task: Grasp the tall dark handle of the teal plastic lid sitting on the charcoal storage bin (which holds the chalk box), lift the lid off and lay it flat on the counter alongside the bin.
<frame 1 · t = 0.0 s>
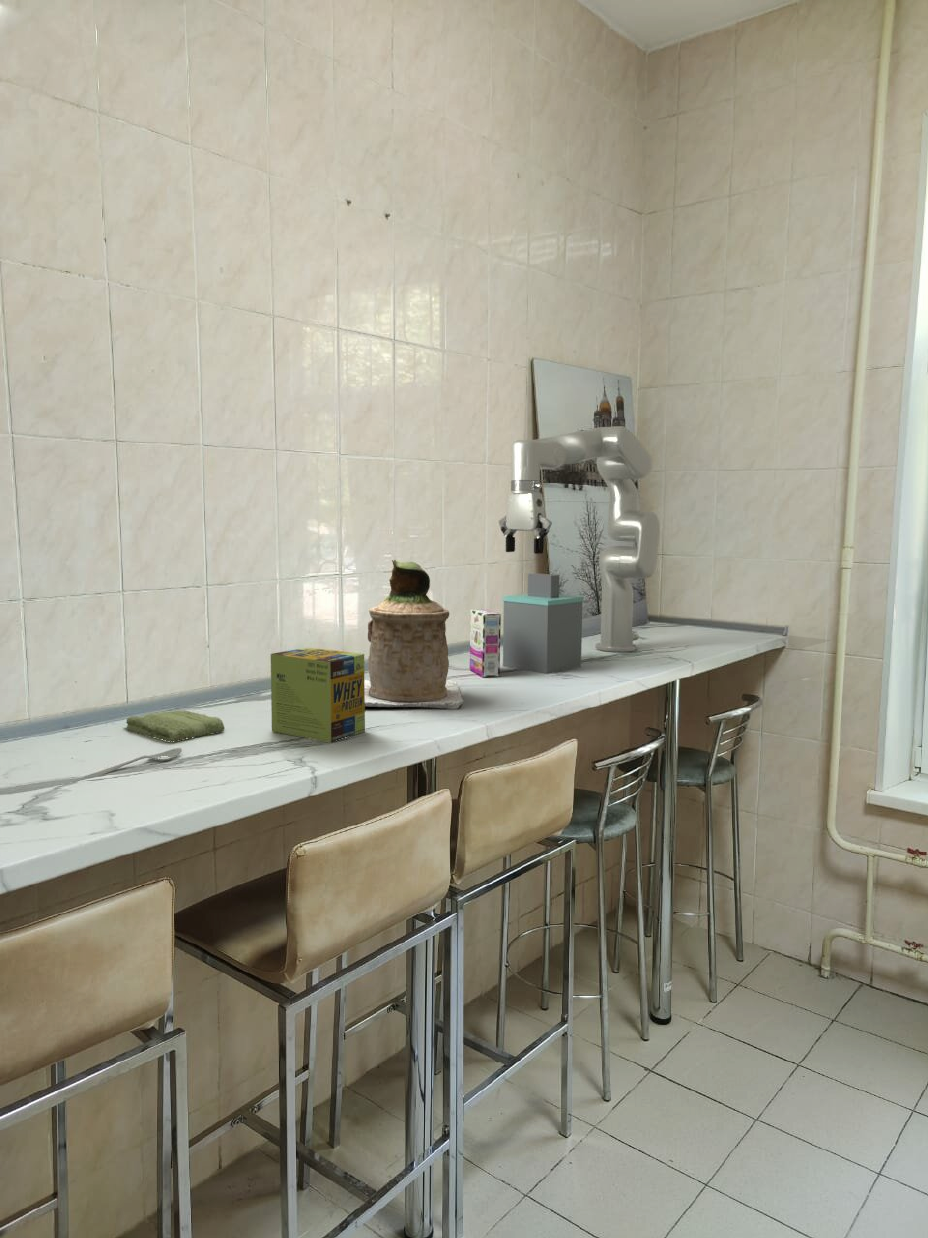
hand: (524, 552, 238), 31 cm above the table, tool pointing down, fingers open, 9 cm apart
spoon: (127, 771, 150), on the table
lid: (543, 600, 242), point 18 cm above the table, touching bin
bin: (541, 666, 245), on the table
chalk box: (541, 667, 245), resting in bin
candy bar box: (484, 674, 234), on the table
cookie jar: (407, 699, 204), on the table
washcloth: (174, 733, 174), on the table
protein box: (318, 732, 174), on the table
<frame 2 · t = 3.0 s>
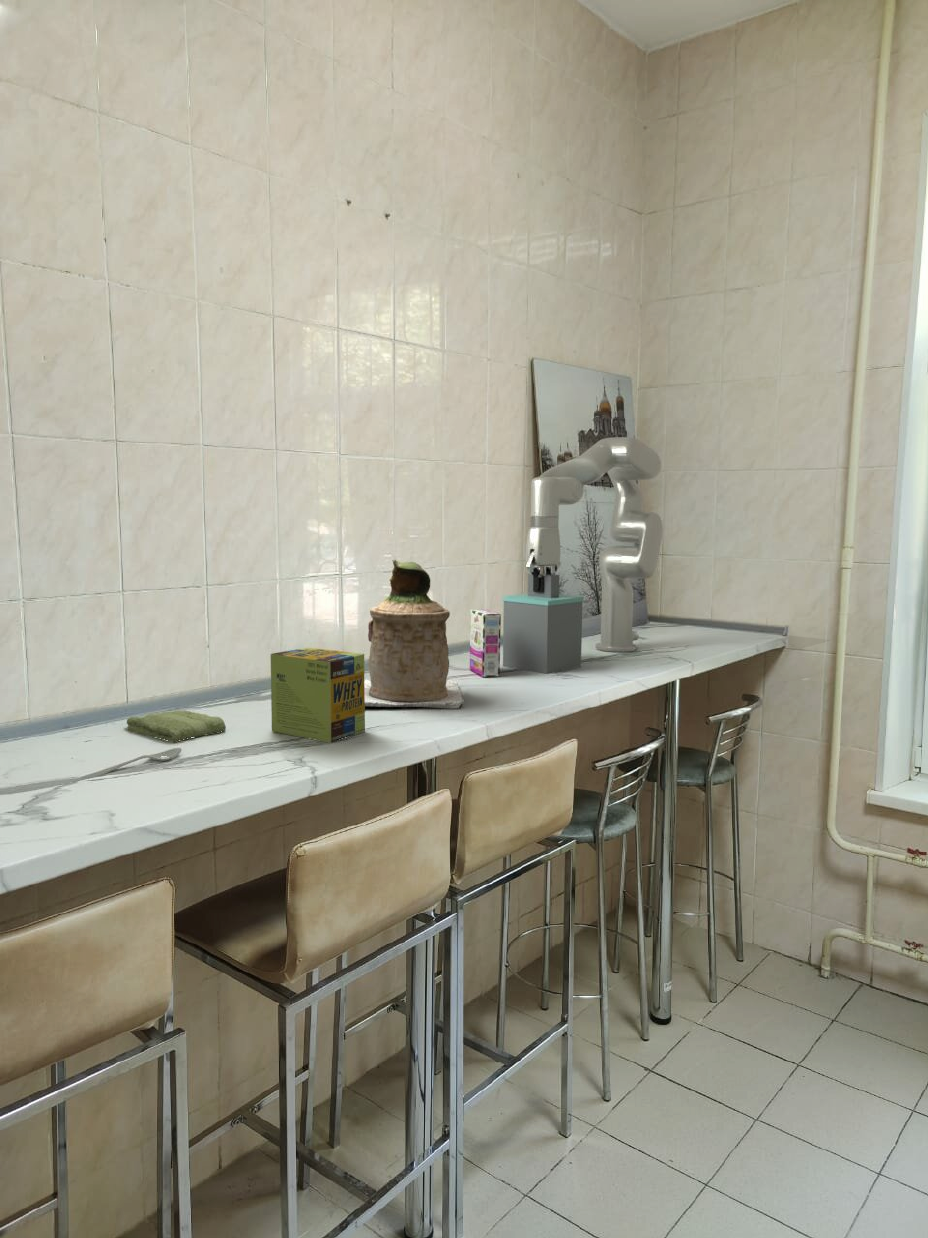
hand: (543, 590, 242), 21 cm above the table, tool pointing down, fingers closed on lid, 3 cm apart
lid: (543, 600, 242), point 18 cm above the table, touching bin, gripper
everything else where it was.
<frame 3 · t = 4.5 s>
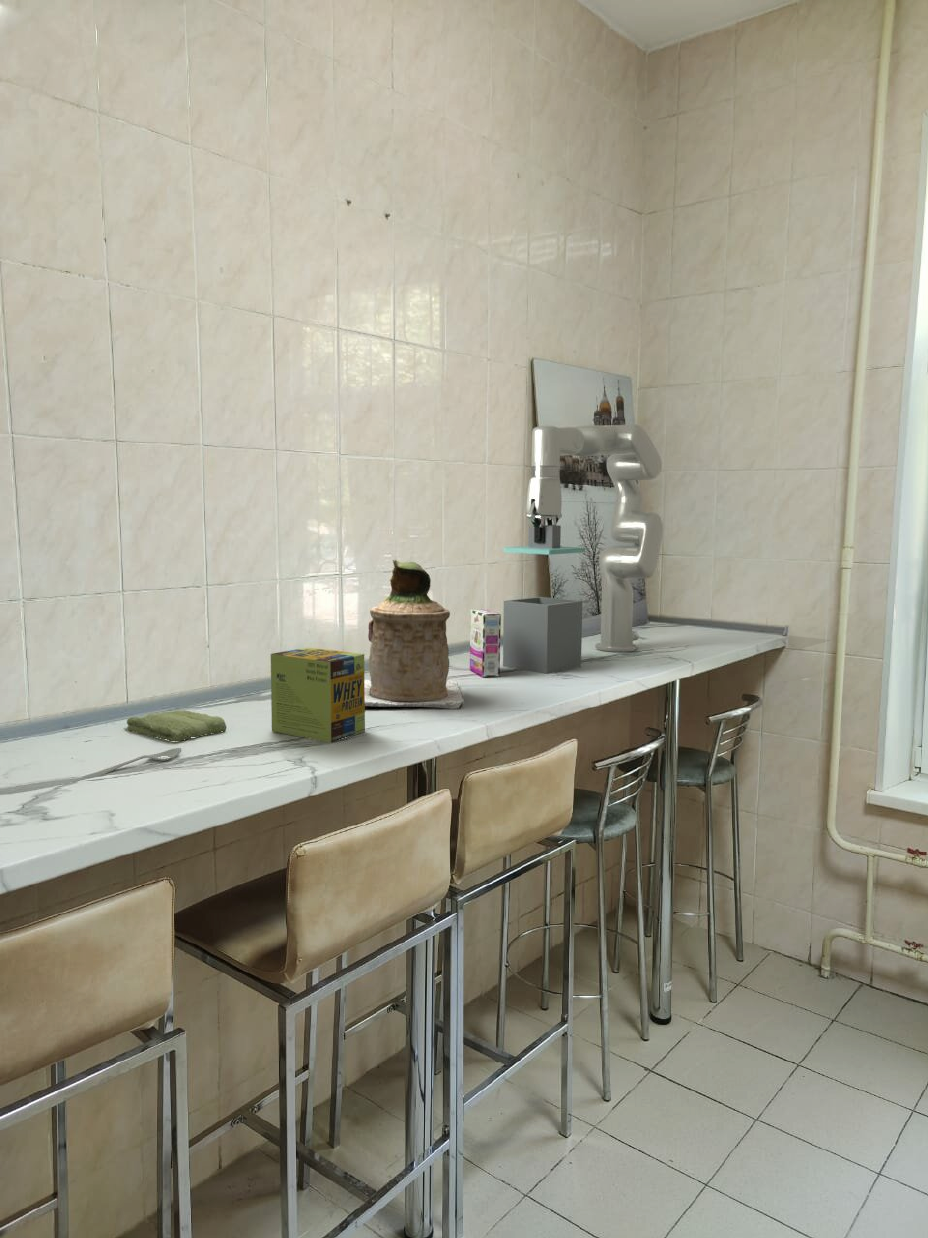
hand: (544, 541, 240), 34 cm above the table, tool pointing down, fingers closed on lid, 3 cm apart
lid: (544, 552, 241), point 31 cm above the table, touching gripper
everything else where it was.
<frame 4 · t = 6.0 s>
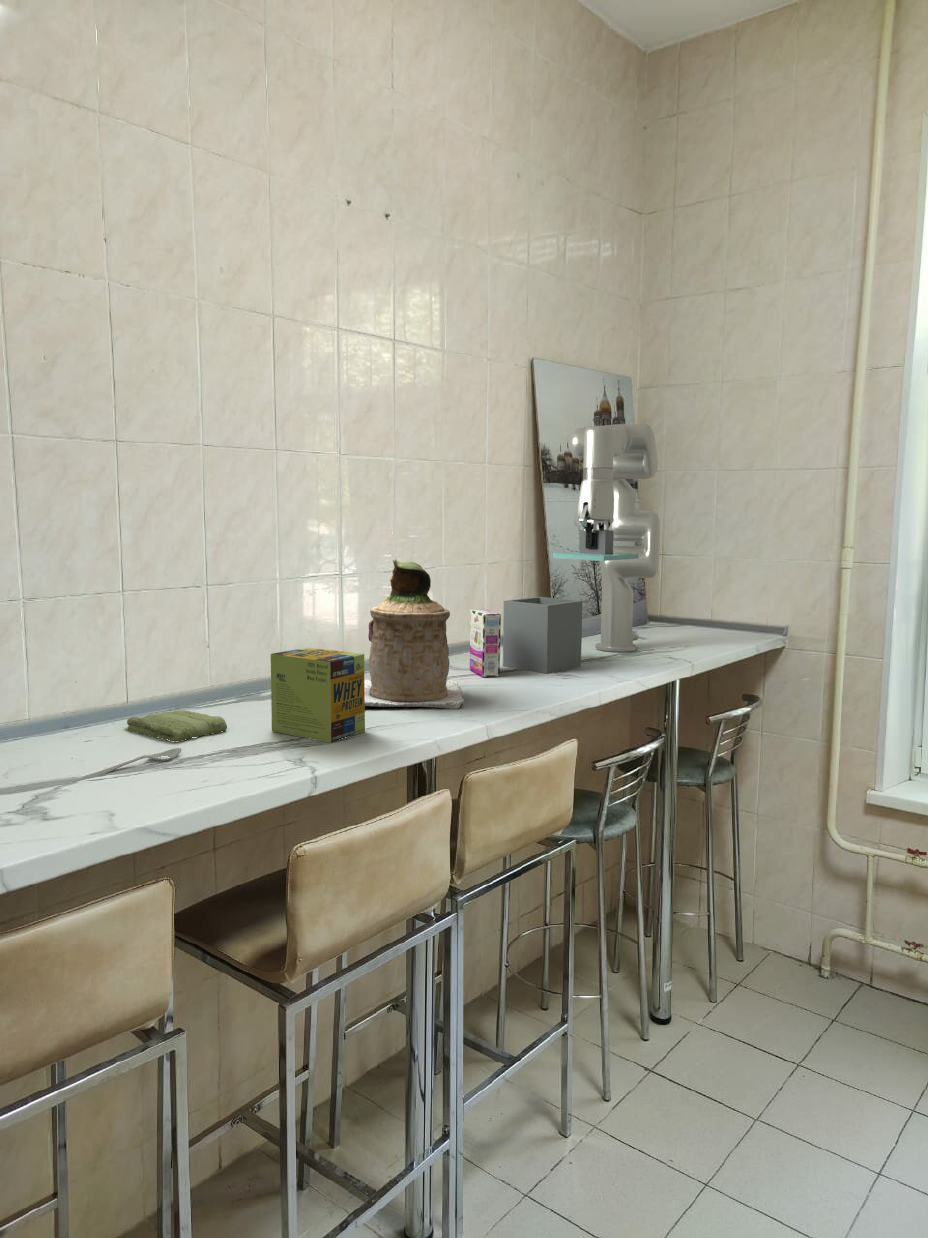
hand: (596, 547, 228), 33 cm above the table, tool pointing down, fingers closed on lid, 3 cm apart
lid: (595, 558, 229), point 30 cm above the table, touching gripper
everything else where it was.
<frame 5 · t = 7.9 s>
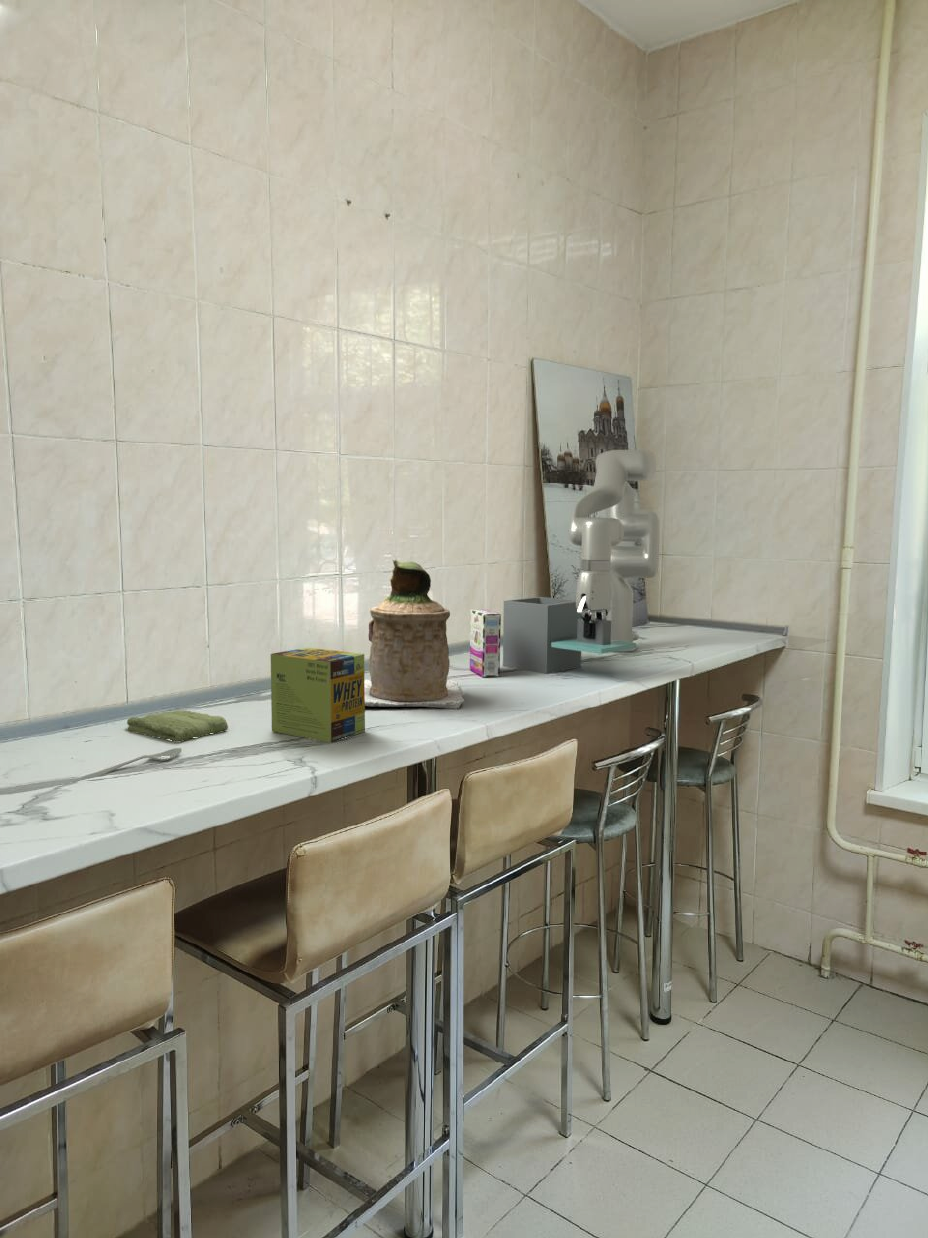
hand: (593, 636, 231), 10 cm above the table, tool pointing down, fingers closed on lid, 3 cm apart
lid: (593, 647, 232), point 7 cm above the table, touching gripper
everything else where it was.
when the fingers open (4 cm above the table, at t = 9.4 s): lid drops 2 cm, on the table.
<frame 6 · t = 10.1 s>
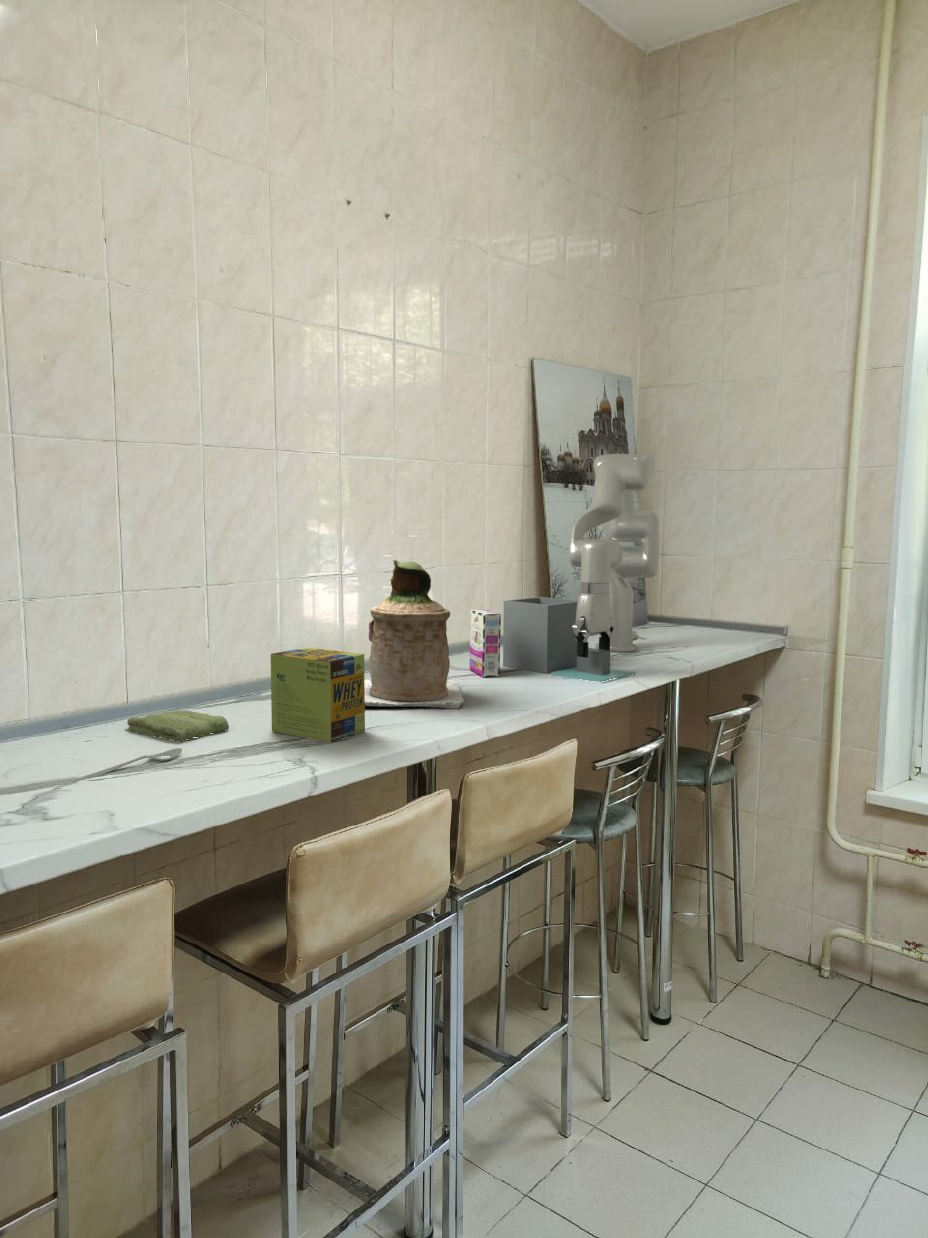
hand: (593, 654, 232), 5 cm above the table, tool pointing down, fingers open, 9 cm apart
lid: (593, 676, 233), on the table
everything else where it was.
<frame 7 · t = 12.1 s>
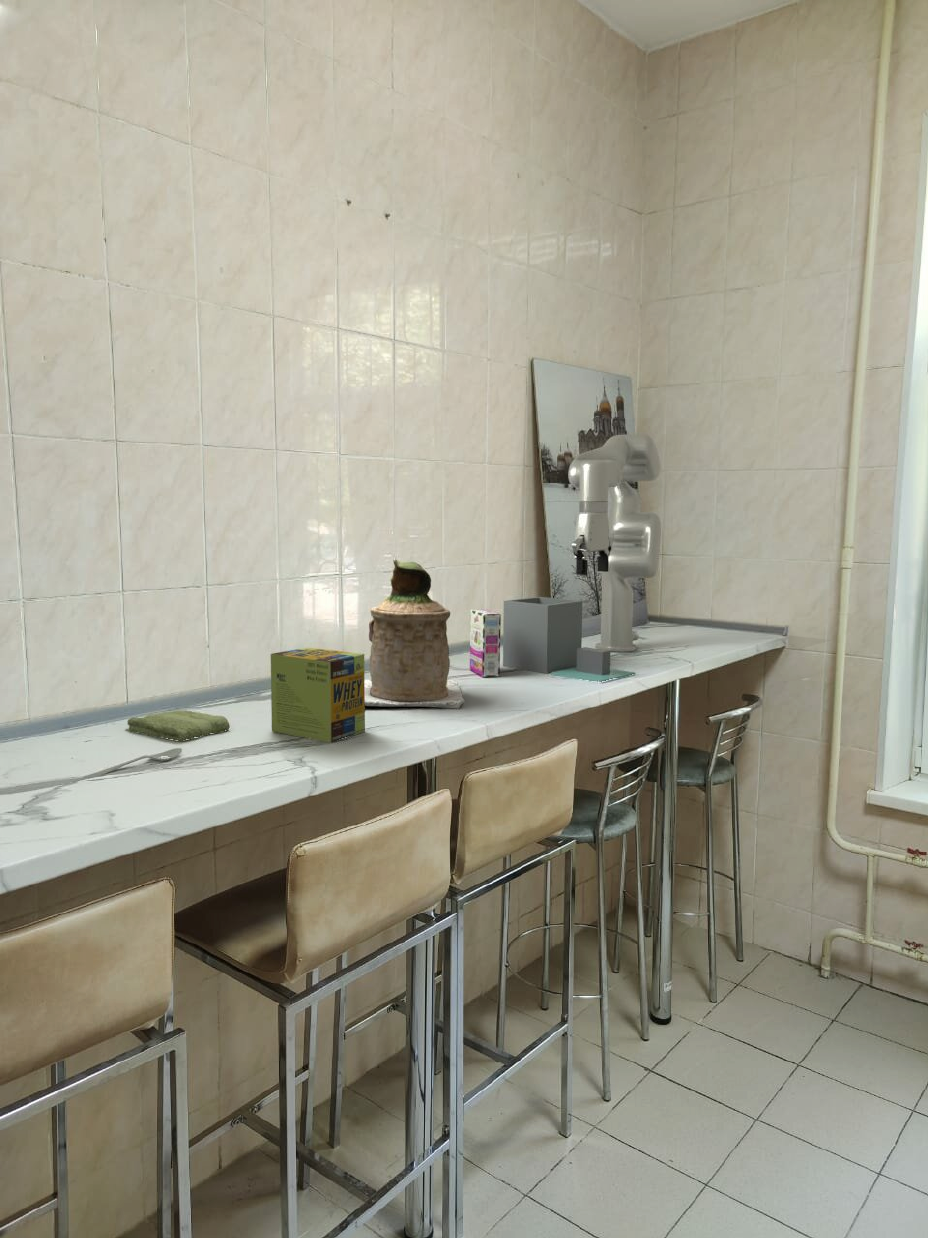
hand: (592, 573, 237), 26 cm above the table, tool pointing down, fingers open, 9 cm apart
nothing on the table moved.
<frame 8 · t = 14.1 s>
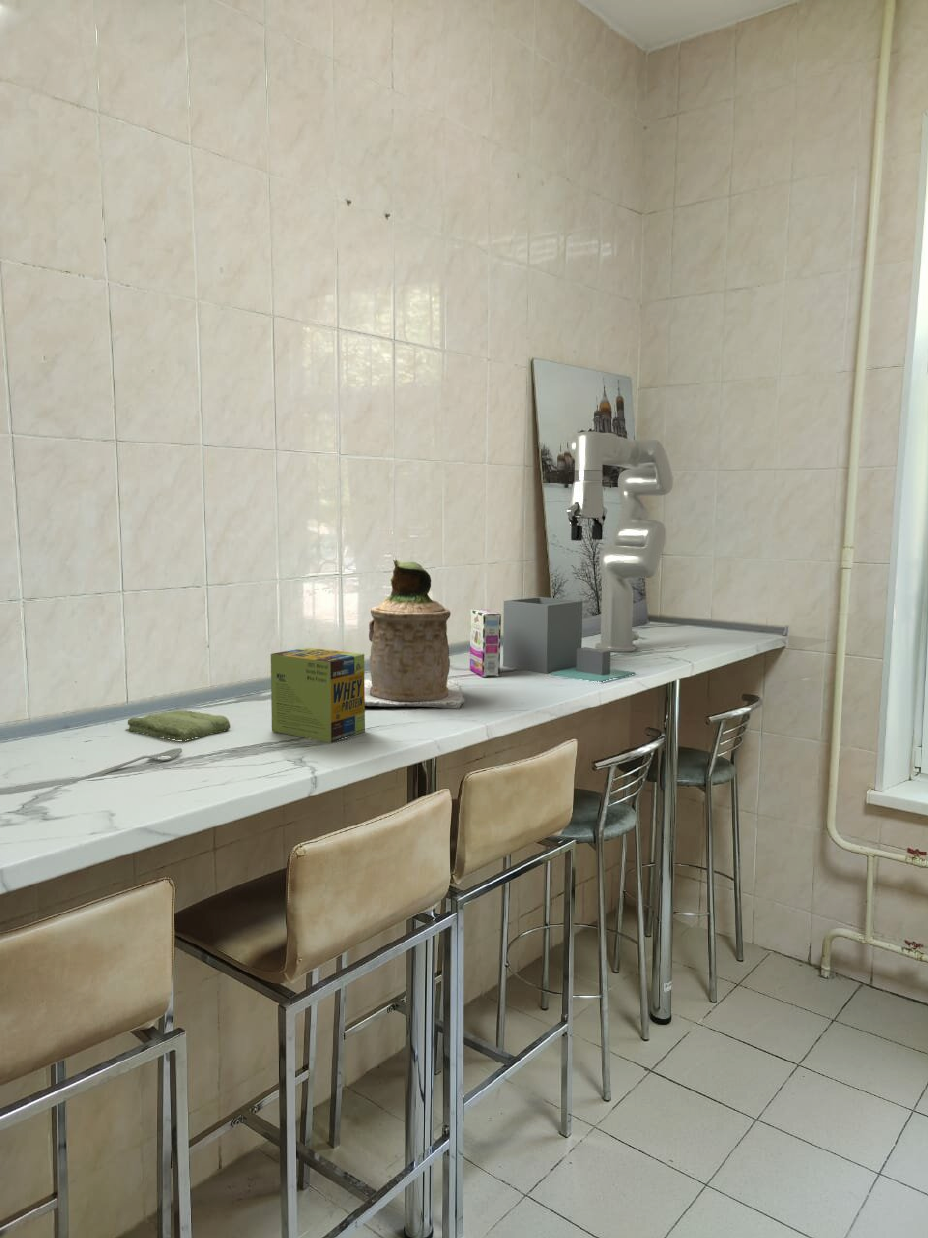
hand: (586, 539, 247), 34 cm above the table, tool pointing down, fingers open, 9 cm apart
nothing on the table moved.
at the end: lid inside the target area (0.5 cm from its centre), on the table; lid tilted 0°; the gripper is holding nothing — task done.
